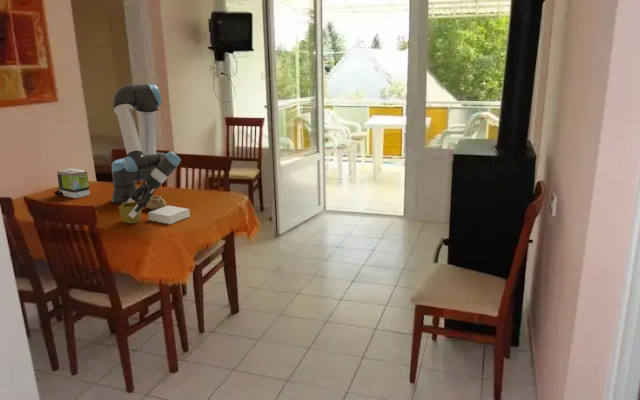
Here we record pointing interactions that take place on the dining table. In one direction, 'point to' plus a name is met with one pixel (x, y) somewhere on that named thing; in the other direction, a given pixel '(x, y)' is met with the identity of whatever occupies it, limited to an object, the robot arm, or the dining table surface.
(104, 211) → the dining table surface
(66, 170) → the tea box
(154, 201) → the oil lamp
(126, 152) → the robot arm
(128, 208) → the flower pot
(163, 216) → the plinth
